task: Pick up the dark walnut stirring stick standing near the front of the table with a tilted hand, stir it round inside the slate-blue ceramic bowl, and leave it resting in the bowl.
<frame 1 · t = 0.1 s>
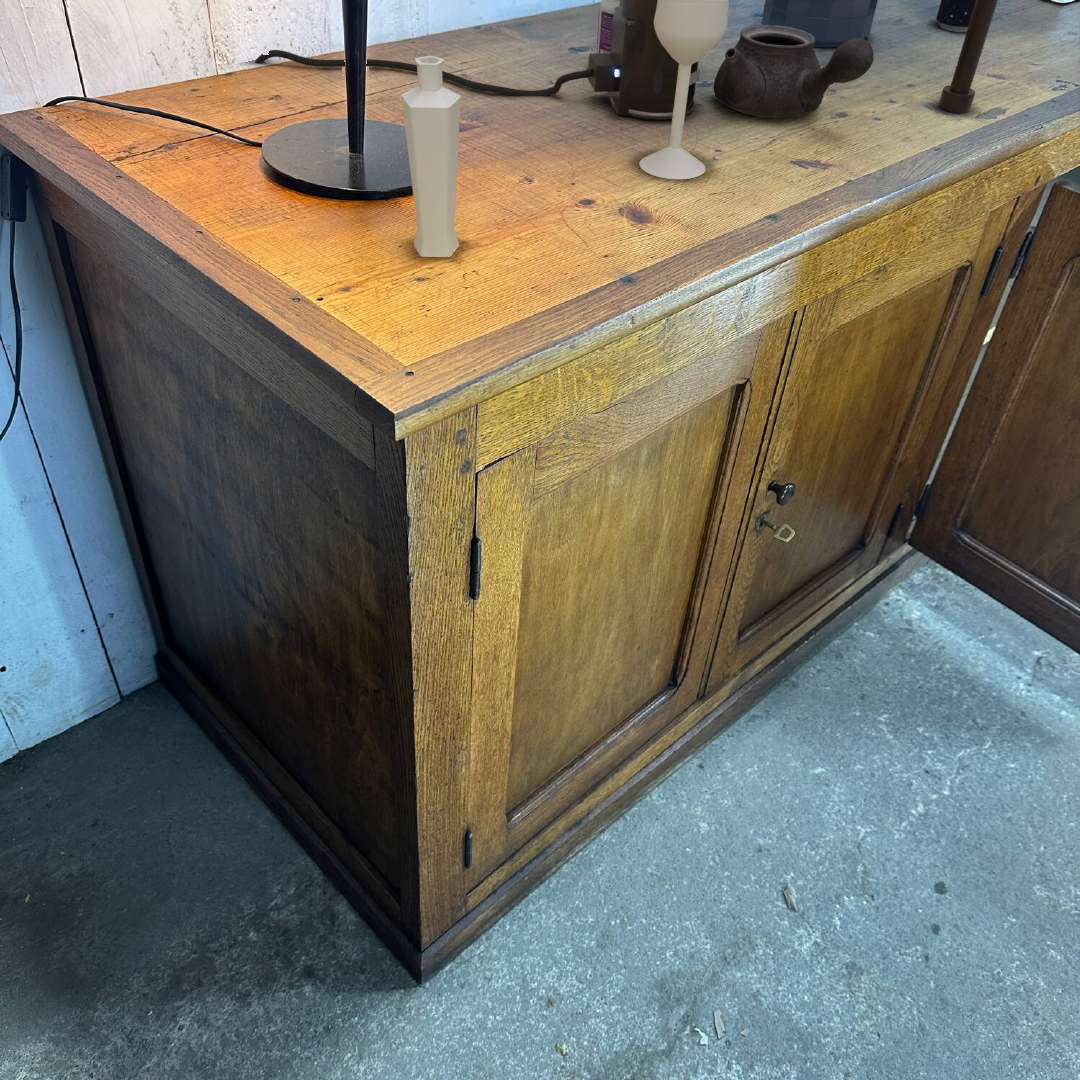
champagne flute: (672, 168, 99), on the table
beige faceted vase: (436, 249, 84), on the table
bowl: (813, 32, 136), on the table
pill bottle: (616, 69, 122), on the table
teapot: (780, 119, 111), on the table
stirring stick: (953, 107, 115), on the table
beverage can: (954, 29, 141), on the table
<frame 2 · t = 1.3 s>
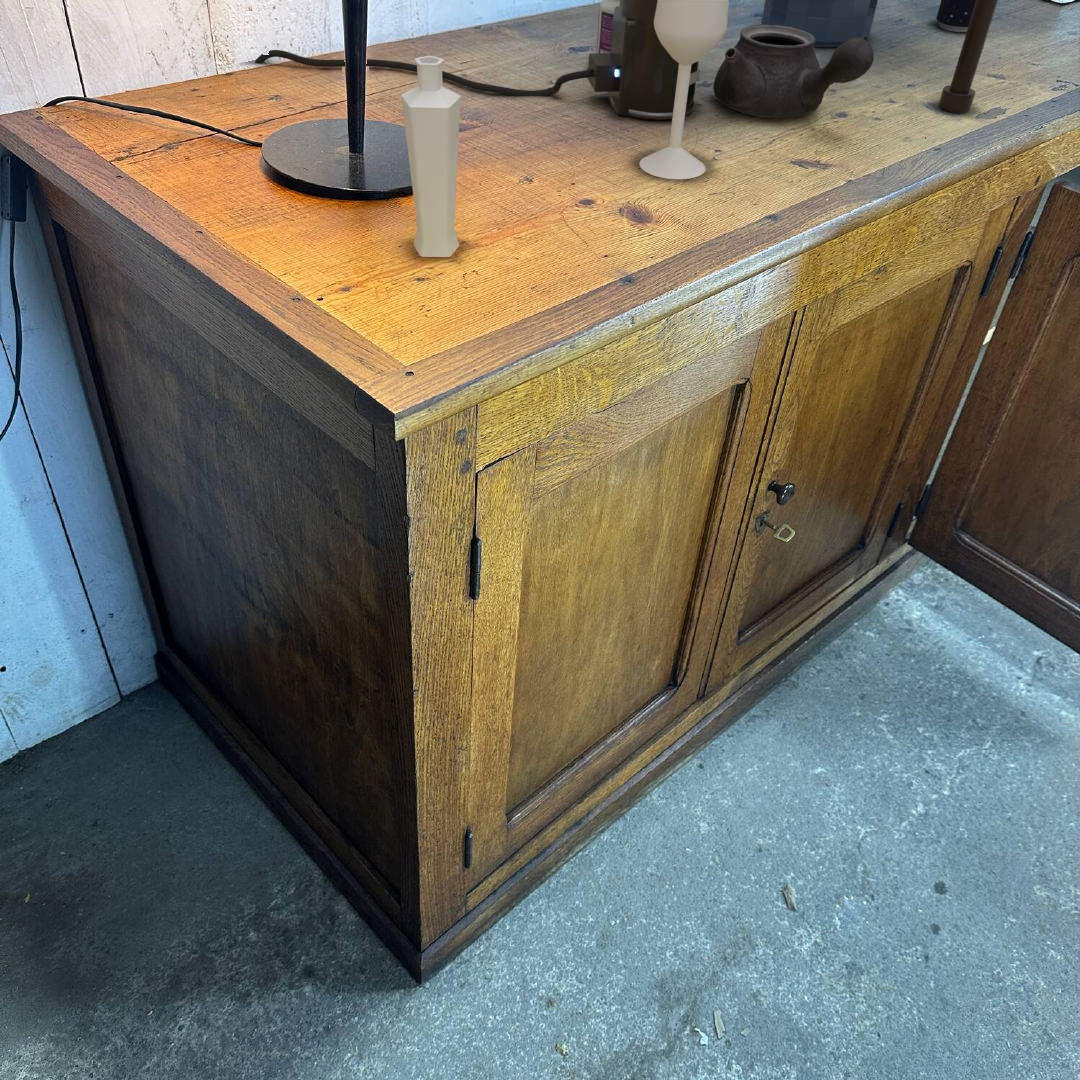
nothing on the table moved.
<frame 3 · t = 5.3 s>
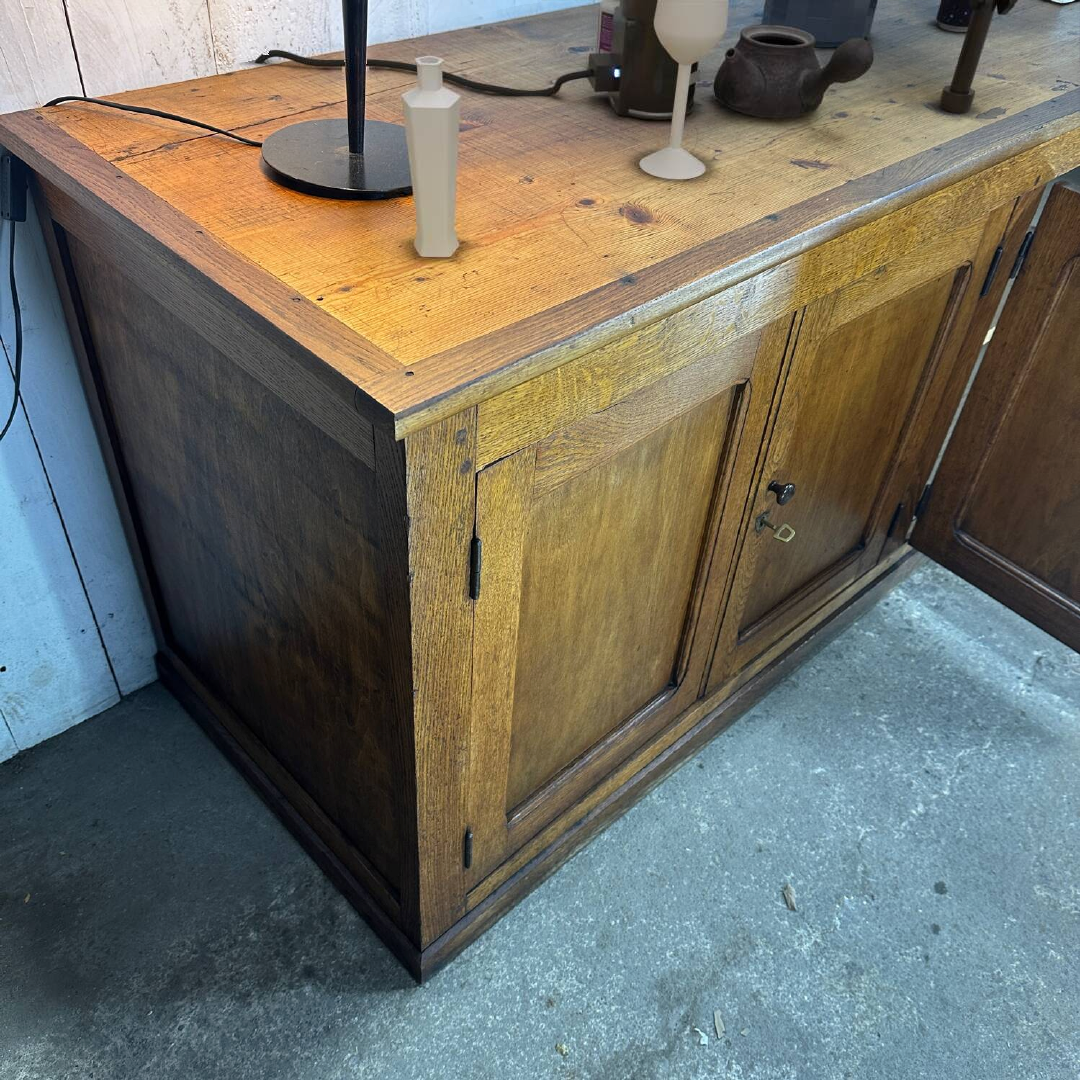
hand: (995, 10, 107), 11 cm above the table, tool tilted 45°, fingers closed on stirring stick, 2 cm apart
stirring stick: (954, 107, 115), on the table, touching gripper
everything else where it was.
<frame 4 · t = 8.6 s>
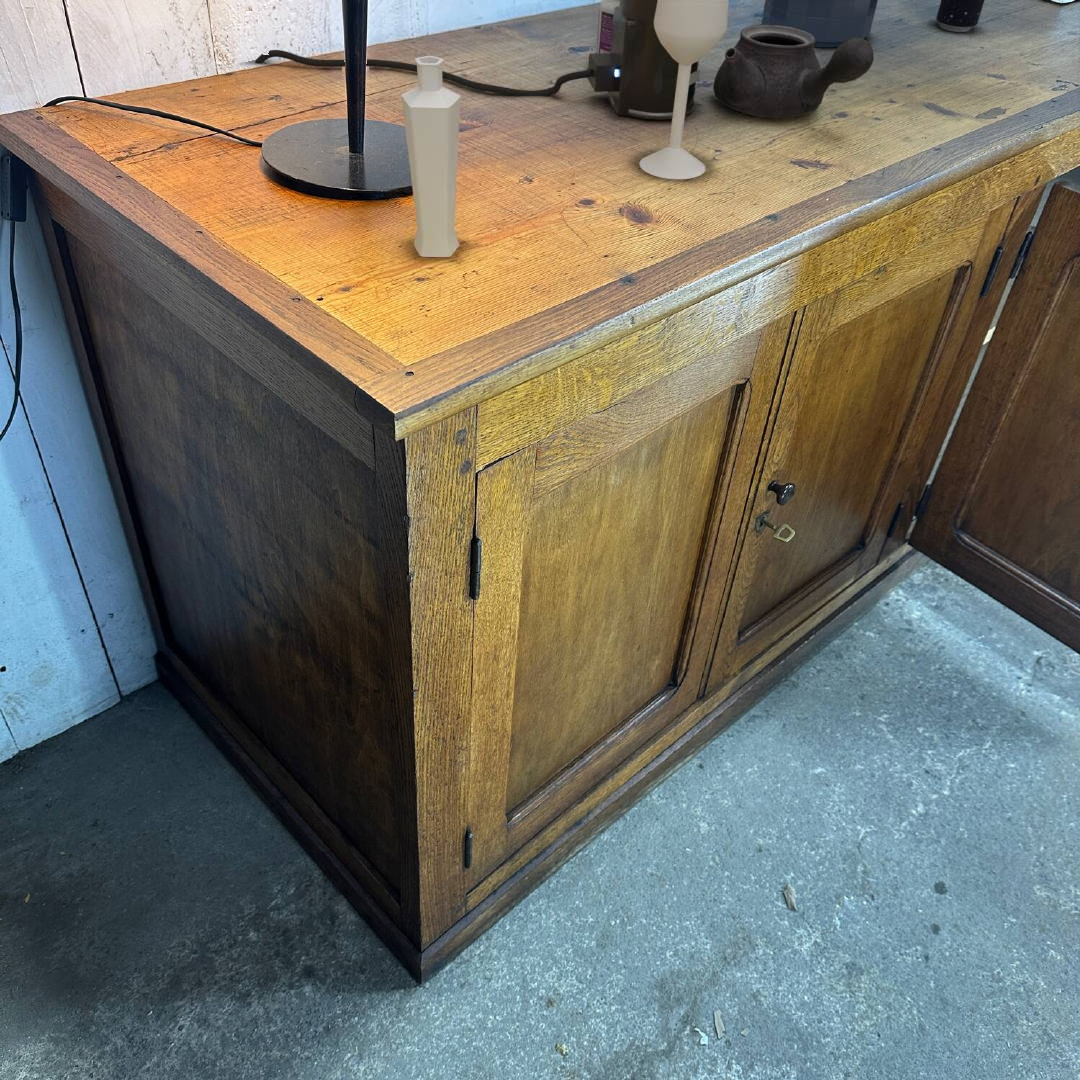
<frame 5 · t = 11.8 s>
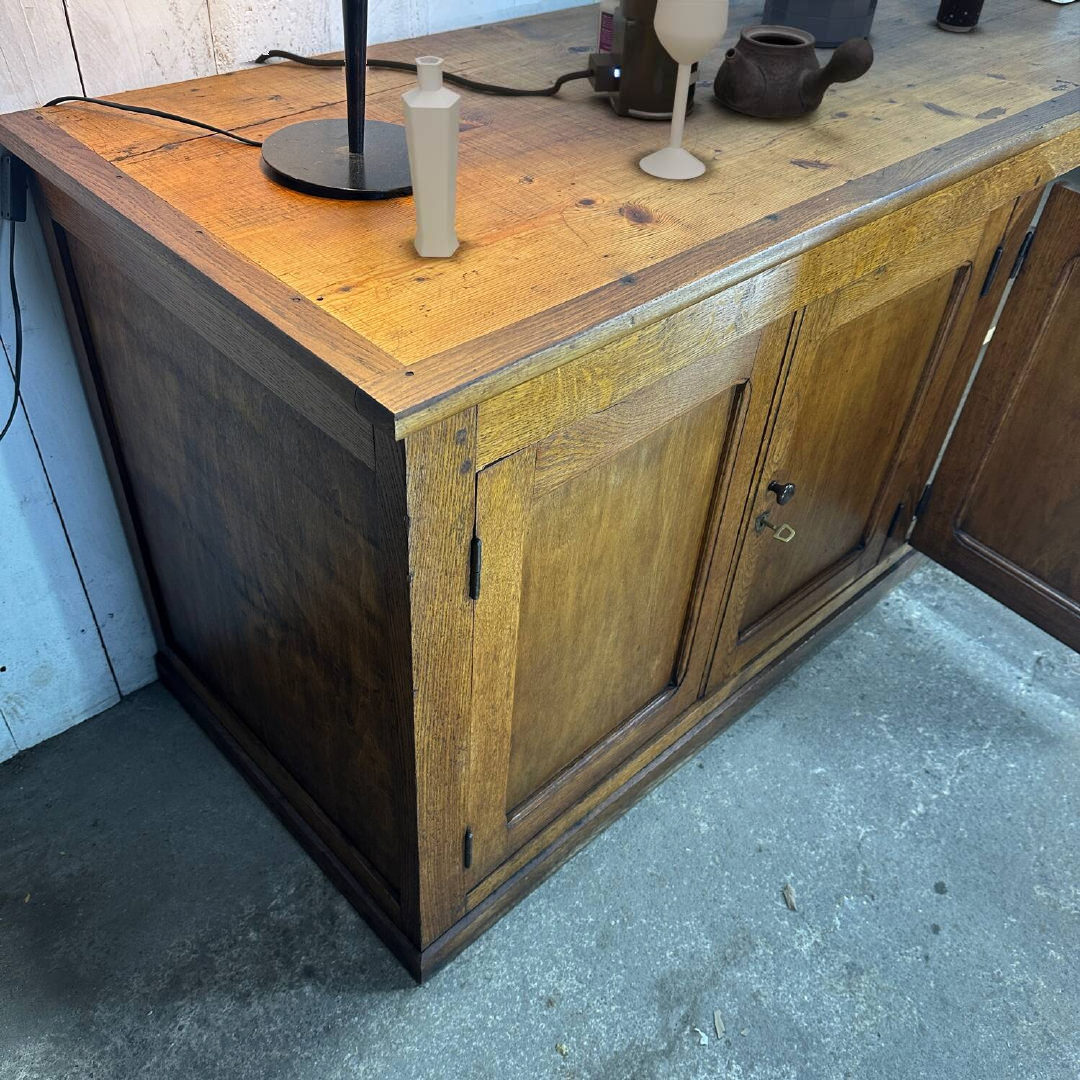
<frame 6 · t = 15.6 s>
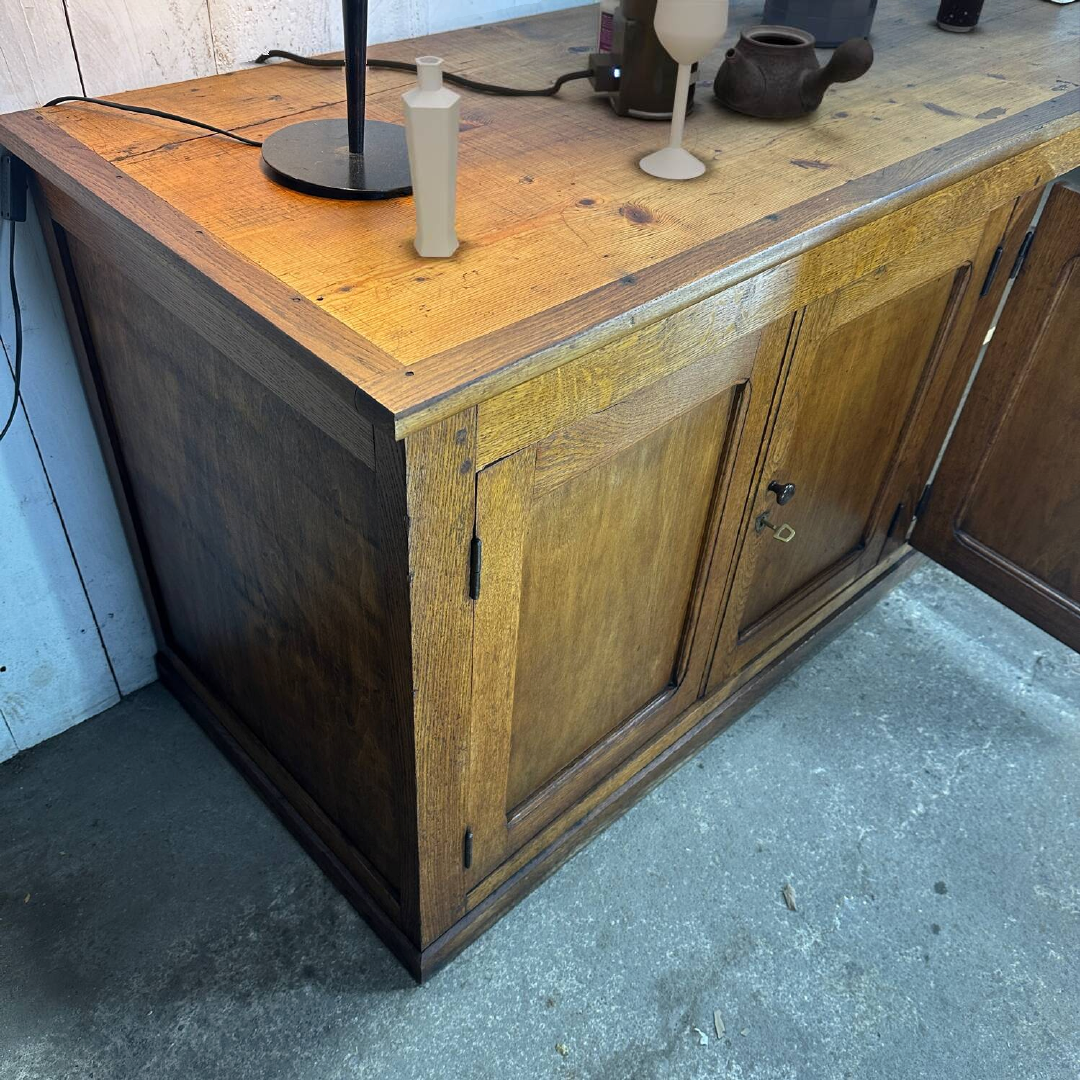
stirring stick: (807, 8, 135), point 3 cm above the table, touching gripper
everything else where it was.
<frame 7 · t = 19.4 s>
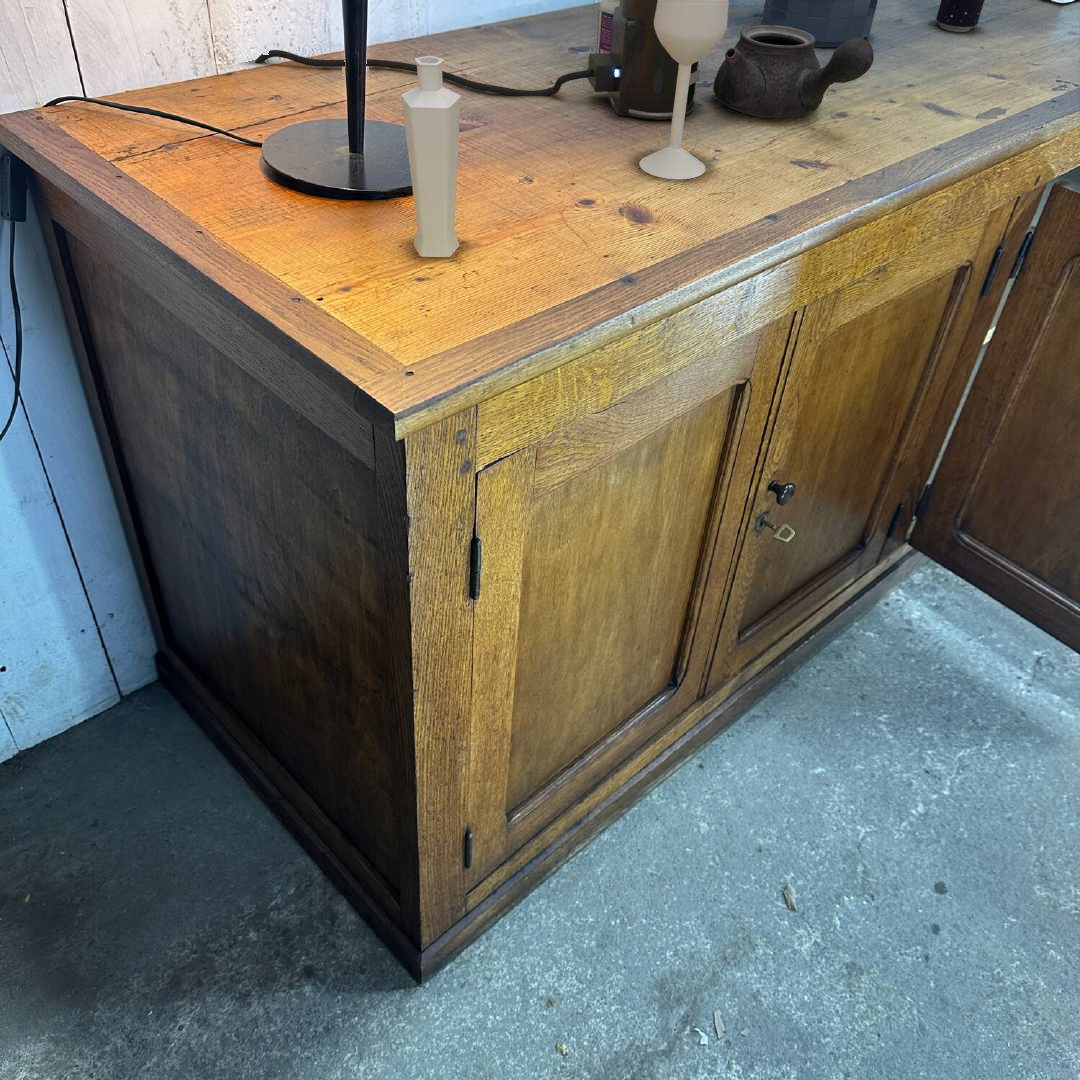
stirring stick: (815, 26, 136), point 1 cm above the table, touching bowl
everything else where it was.
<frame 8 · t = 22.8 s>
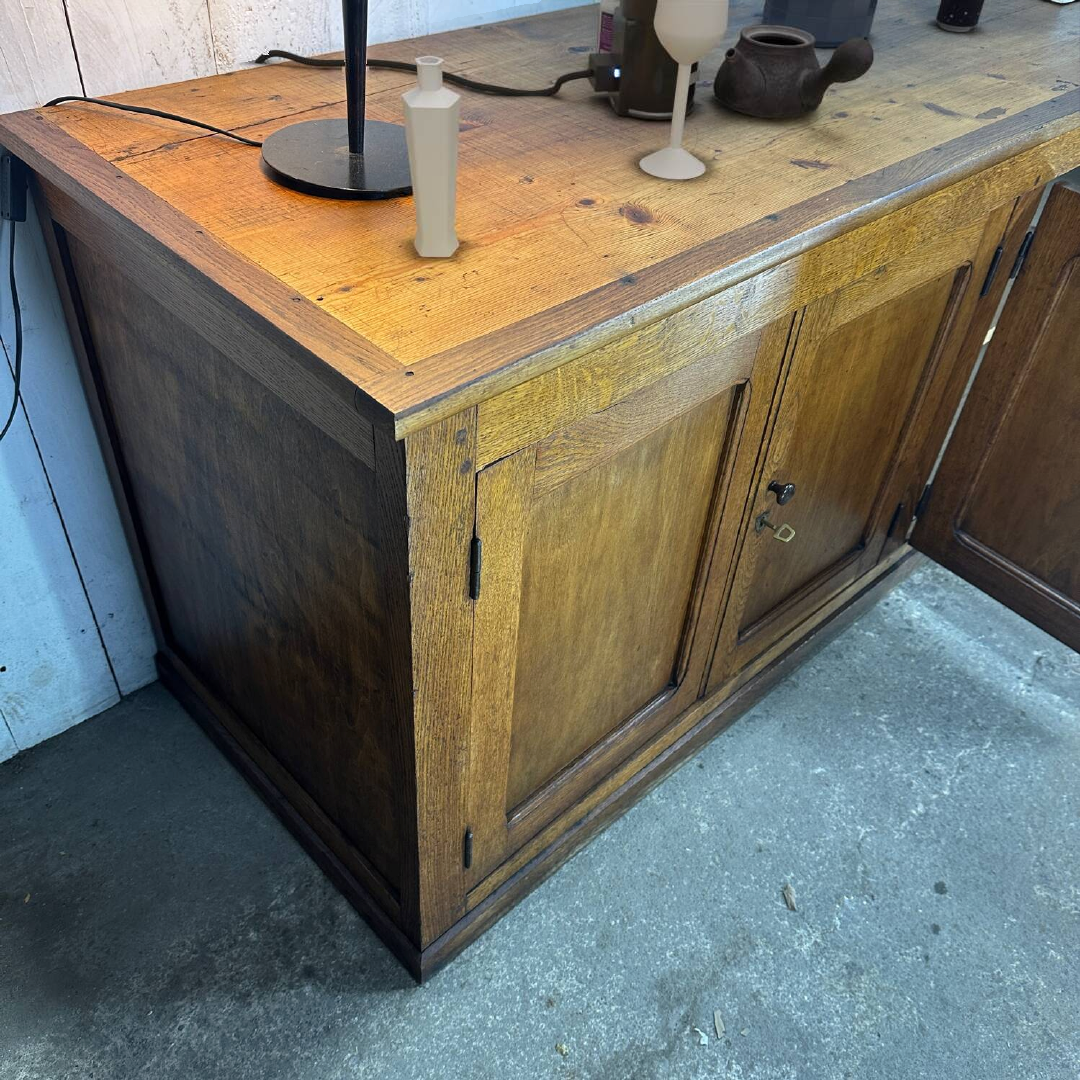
nothing on the table moved.
at the end: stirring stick inside the target area in the bowl (0.0 cm from its centre), point 0.8 cm above the bowl's base; the gripper is holding nothing; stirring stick moved 30.6 cm from its start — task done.
